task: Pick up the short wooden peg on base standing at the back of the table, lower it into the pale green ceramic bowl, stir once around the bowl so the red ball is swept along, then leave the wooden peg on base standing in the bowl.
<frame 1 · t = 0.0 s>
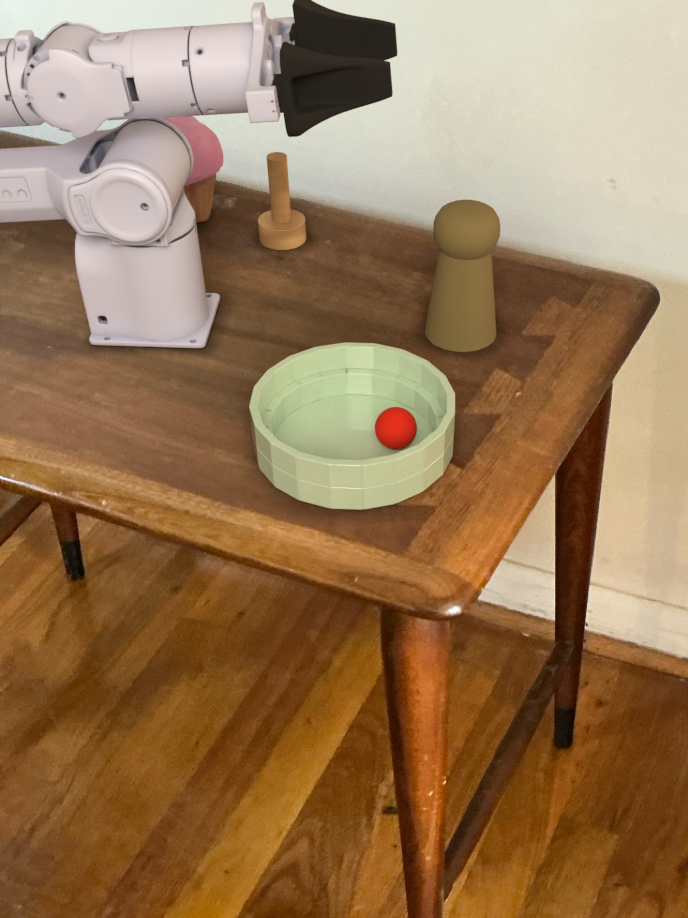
hand: (394, 58, 71), 22 cm above the table, tool horizontal, fingers open, 7 cm apart
cork: (460, 333, 86), on the table
bowl: (354, 449, 74), on the table
wooden peg on base: (283, 239, 97), on the table
red ball: (395, 428, 73), point 2 cm above the table, touching bowl
cupcake: (183, 222, 99), on the table
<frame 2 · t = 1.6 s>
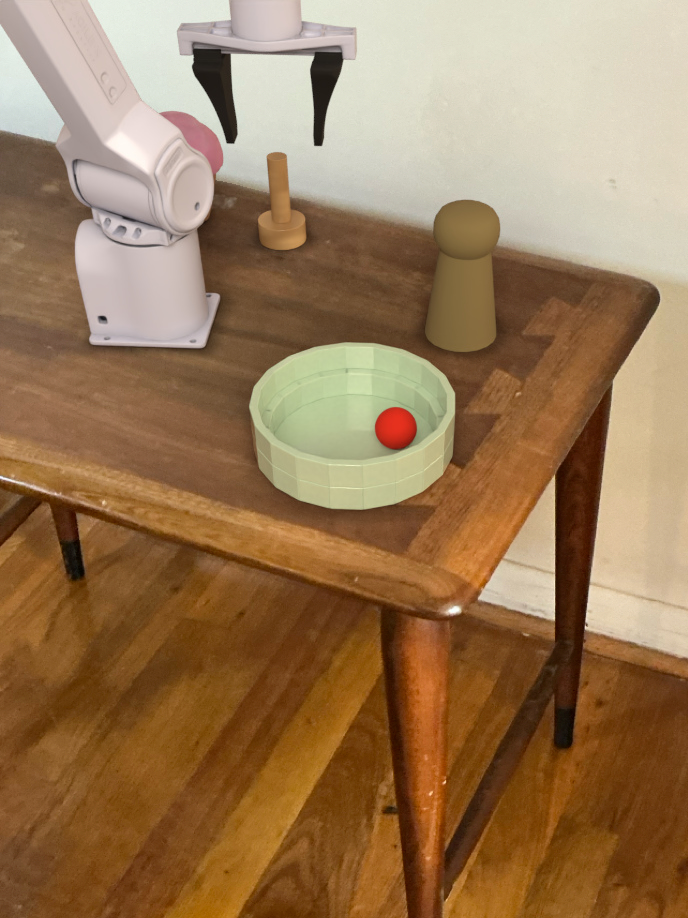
hand: (275, 140, 90), 9 cm above the table, tool pointing down, fingers open, 7 cm apart
nothing on the table moved.
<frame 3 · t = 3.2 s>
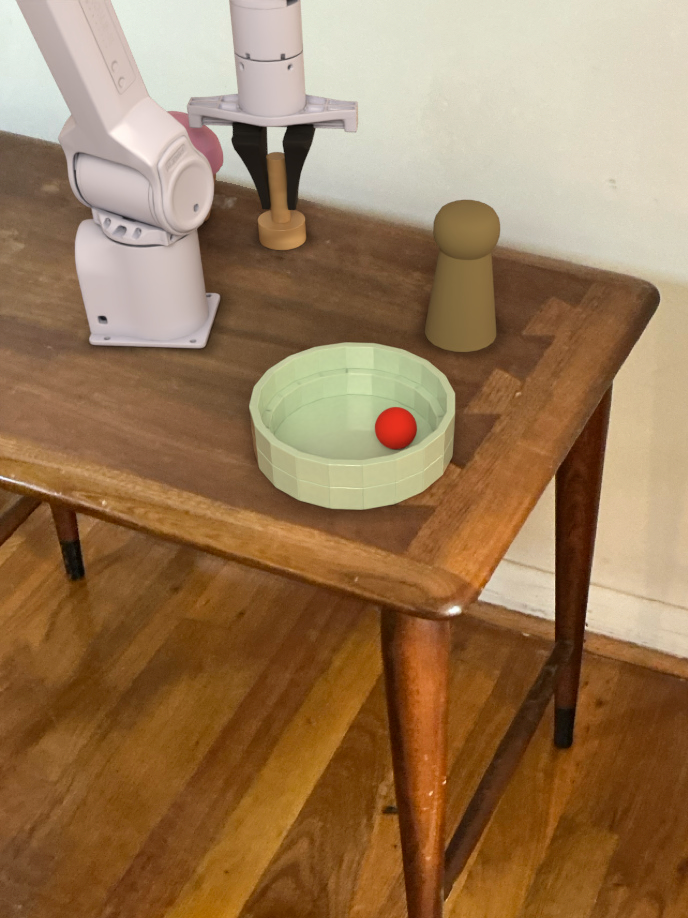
hand: (280, 204, 95), 3 cm above the table, tool pointing down, fingers closed on wooden peg on base, 2 cm apart
wooden peg on base: (282, 238, 97), on the table, touching gripper
everything else where it was.
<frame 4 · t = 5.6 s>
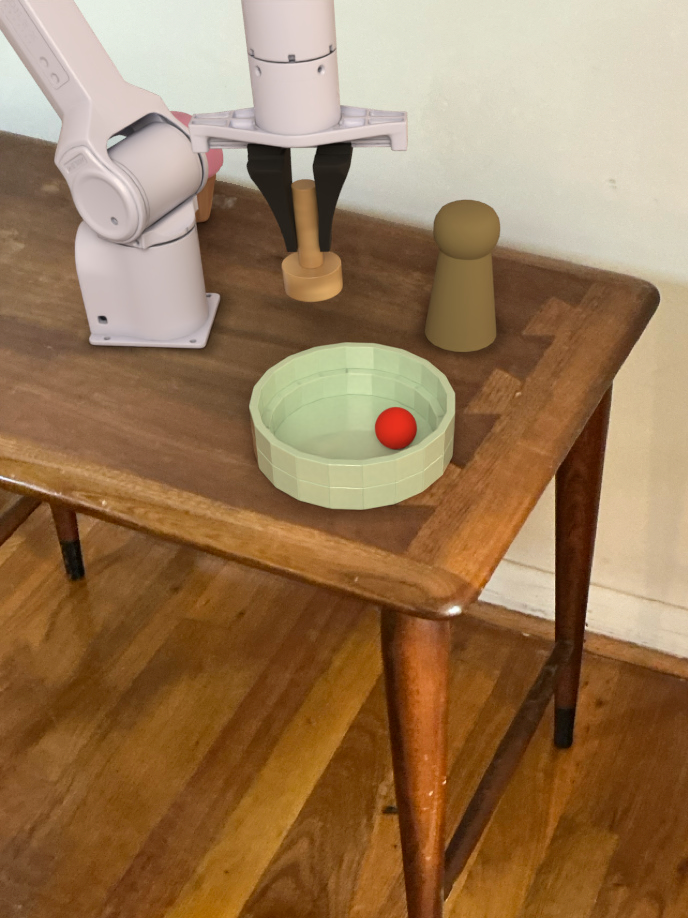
hand: (309, 245, 75), 10 cm above the table, tool pointing down, fingers closed on wooden peg on base
wooden peg on base: (313, 287, 77), point 7 cm above the table, touching gripper
everything else where it was.
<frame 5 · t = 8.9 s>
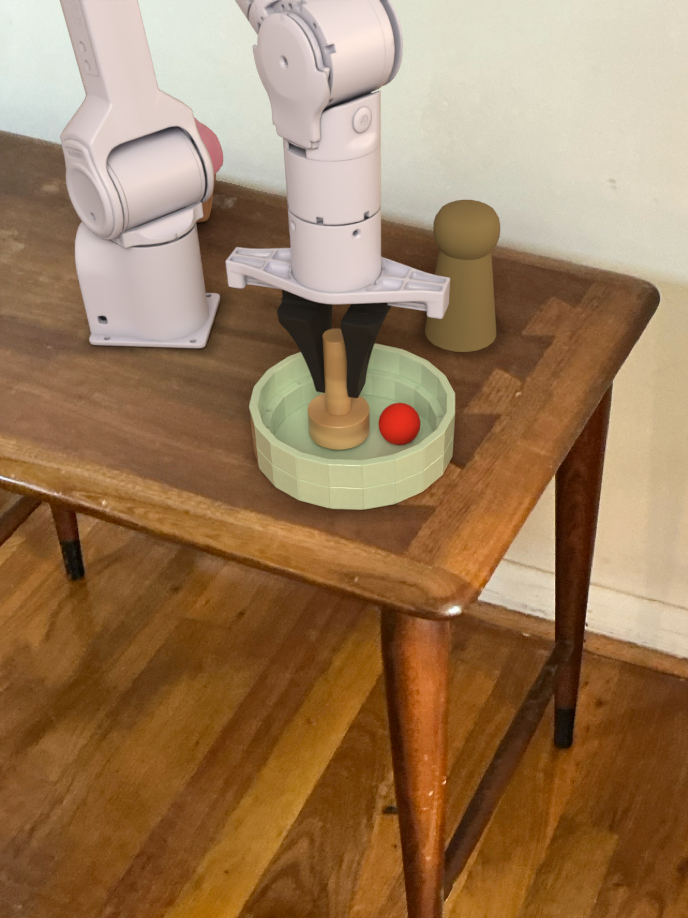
hand: (341, 387, 72), 5 cm above the table, tool pointing down, fingers closed on wooden peg on base, 2 cm apart
wooden peg on base: (339, 430, 74), point 1 cm above the table, touching gripper
red ball: (399, 423, 73), point 2 cm above the table, tilted 17°, touching bowl
everything else where it was.
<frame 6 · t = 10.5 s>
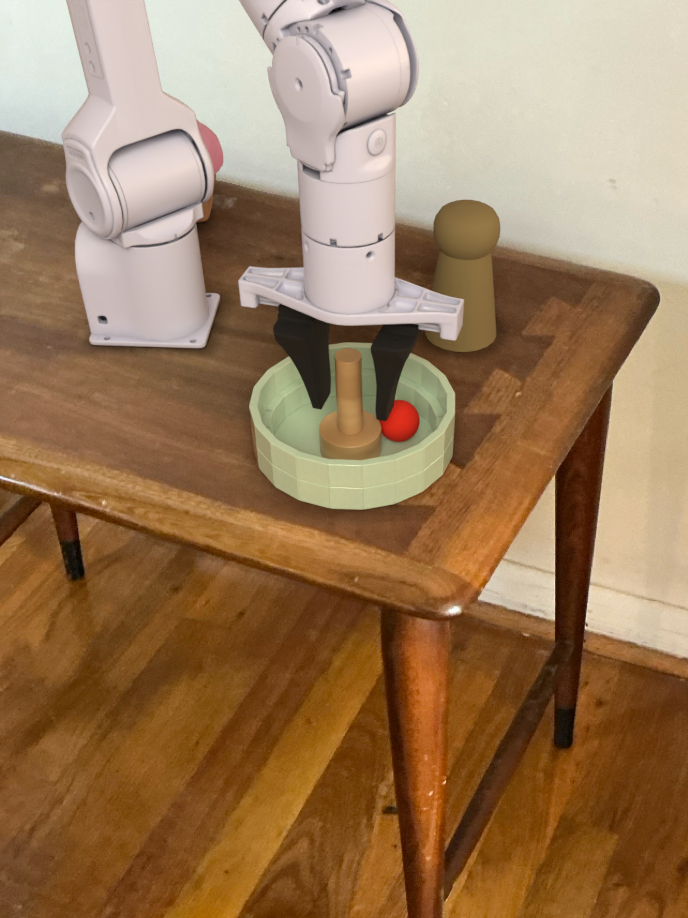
hand: (353, 406, 72), 4 cm above the table, tool pointing down, fingers open, 4 cm apart
wooden peg on base: (350, 449, 74), point 1 cm above the table, touching bowl
red ball: (398, 420, 74), point 2 cm above the table, tilted 27°, touching bowl
everything else where it was.
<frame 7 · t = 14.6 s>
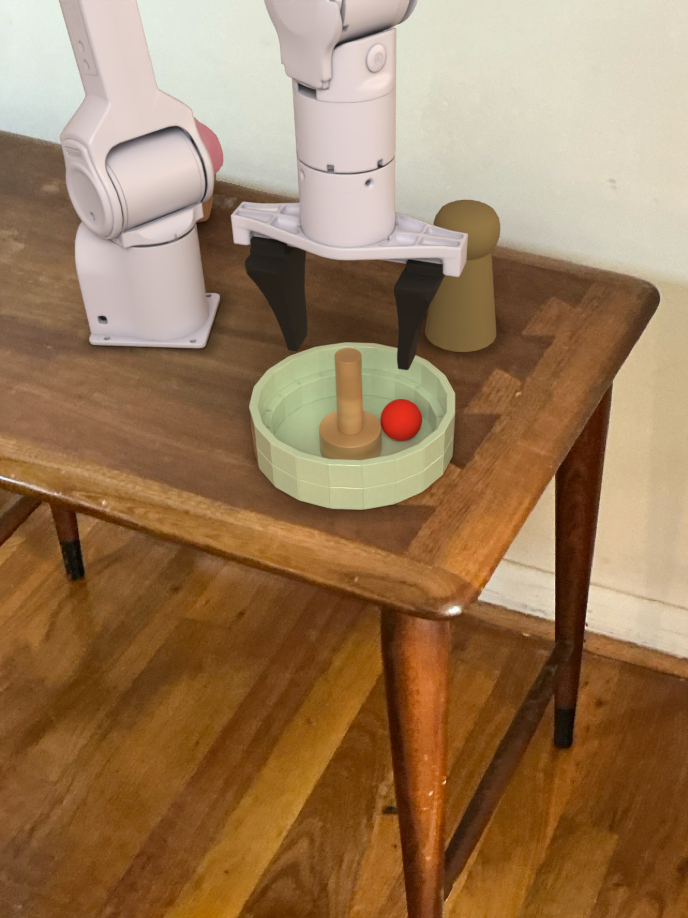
hand: (351, 352, 69), 8 cm above the table, tool pointing down, fingers open, 7 cm apart
nothing on the table moved.
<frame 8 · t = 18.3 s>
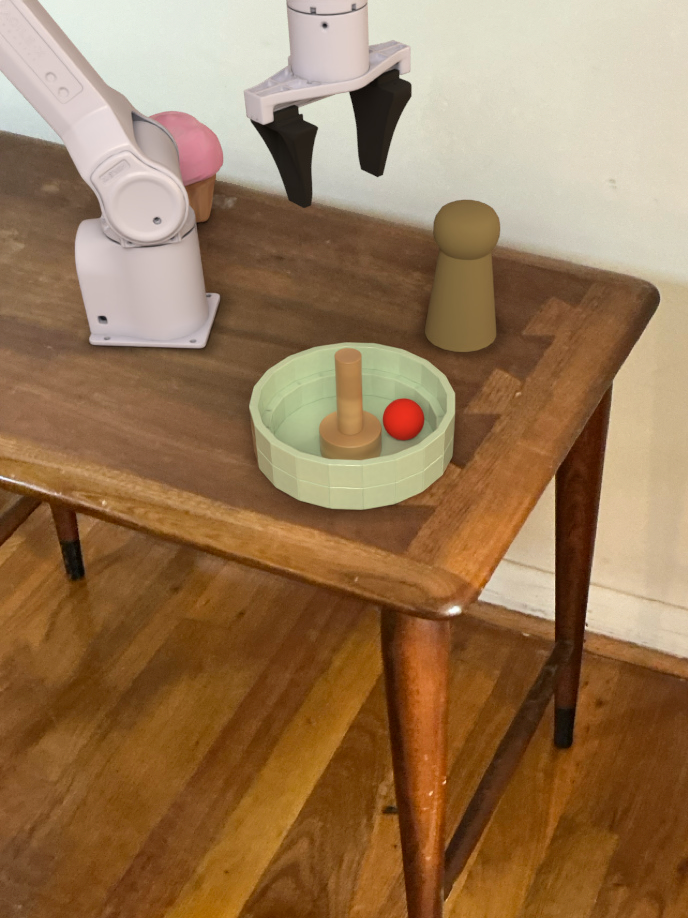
hand: (336, 187, 82), 10 cm above the table, tool pointing down, fingers open, 7 cm apart
nothing on the table moved.
at the end: wooden peg on base inside the target area in the bowl (0.7 cm from its centre), point 0.6 cm above the bowl's base; wooden peg on base tilted 0°; red ball 3.7 cm from the bowl (horizontally) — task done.
